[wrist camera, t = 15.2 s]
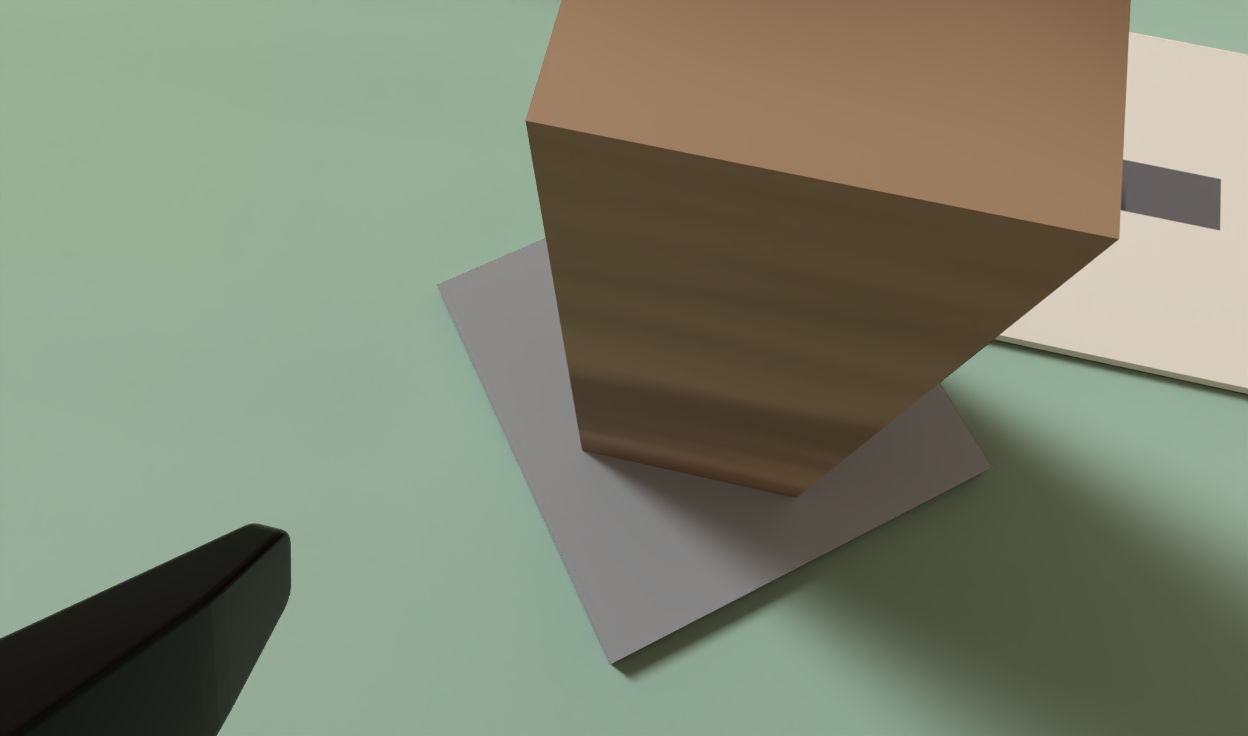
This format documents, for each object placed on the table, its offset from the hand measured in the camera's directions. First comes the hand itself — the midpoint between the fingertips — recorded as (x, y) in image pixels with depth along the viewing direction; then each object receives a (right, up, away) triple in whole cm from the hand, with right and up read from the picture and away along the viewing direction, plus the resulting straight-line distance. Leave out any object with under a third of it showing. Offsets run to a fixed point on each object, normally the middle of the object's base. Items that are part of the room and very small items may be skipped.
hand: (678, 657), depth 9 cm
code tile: (+11, +7, +11) cm, 17 cm away
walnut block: (+1, +3, +9) cm, 10 cm away
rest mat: (+1, +3, +10) cm, 10 cm away
